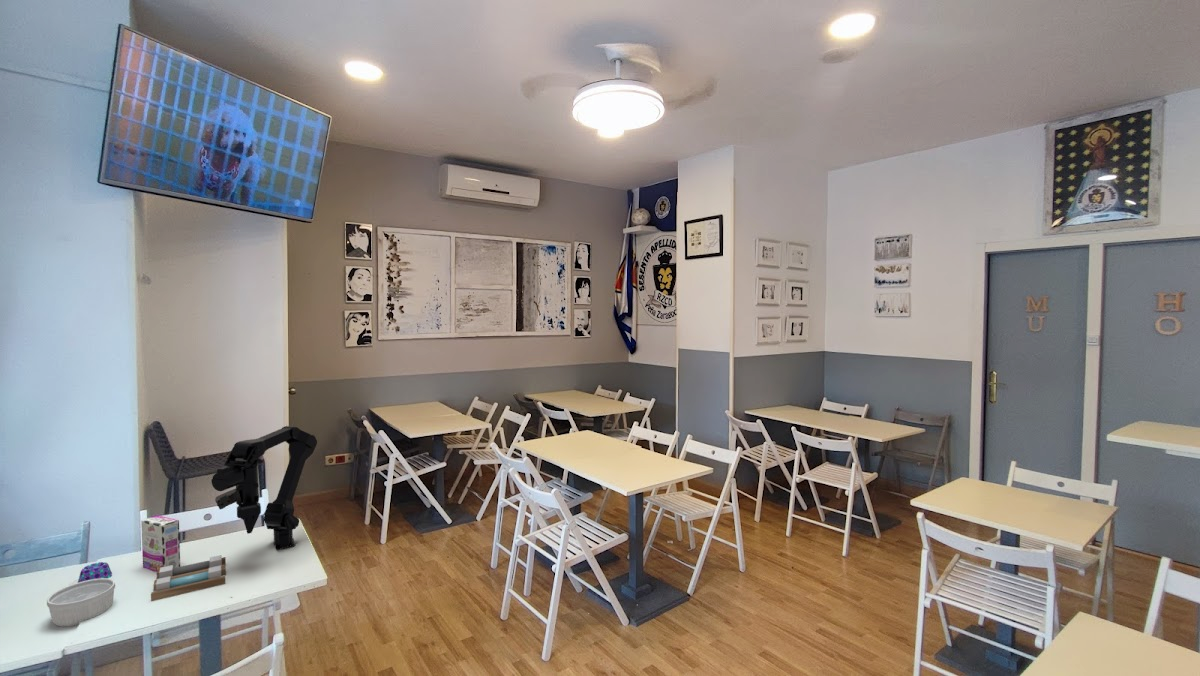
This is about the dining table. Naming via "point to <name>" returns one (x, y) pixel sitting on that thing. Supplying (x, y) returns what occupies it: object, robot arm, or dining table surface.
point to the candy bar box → (160, 542)
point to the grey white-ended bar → (190, 567)
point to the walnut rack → (189, 587)
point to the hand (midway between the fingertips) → (249, 528)
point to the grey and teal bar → (188, 579)
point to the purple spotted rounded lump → (94, 572)
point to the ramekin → (81, 601)
